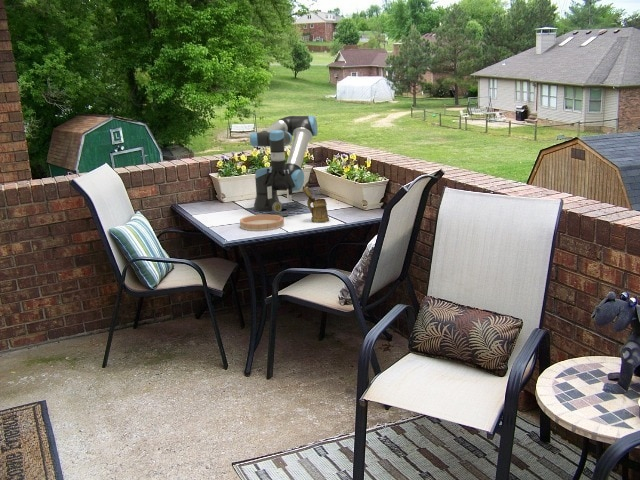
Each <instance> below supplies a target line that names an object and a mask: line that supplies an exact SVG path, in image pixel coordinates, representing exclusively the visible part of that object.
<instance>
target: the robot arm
mask: <svg viewBox="0 0 640 480" xmlns="http://www.w3.org/2000/svg"><path fill="white" fill-rule="evenodd" d="M318 132H319V130H318V122H317V119H316V117H315V116H314V115H289V116H284V117H282V118H279V119H277V120H275V121H274V122H273V123H272V125H270V126H268V127H266V128H265V129H263V130H261V131H258V132H257V131H255V132H251V133H250V136H249V142H250V143H249V144H250V145H251V146H252V147H256V148H257V147H269V148H270V149H269V150H270V151H269V152H270V166H265V167H261V168H258V169H256V170H255V173H254V176H255V177H254V180H255V181H254V182H255V193H256V196H255V200H254V204H253V210H254V211H259V212H273V210H272V205H273V203H274V202H276V201H279V202H280V200H279V196H278V191H286V198H287V199H286V200H287V202H290V201H293V200H292V197H293V192H295V191H297V192H298V191H300V190H301V189H303V186H304V183H305V180H304V179H305V172H304V171H303V169H302V166H303V162H304V158H305V155H306V151H307V147H308V146H309V145H308V144H309V142H311V140H312V139H313V137H317V135H318ZM291 143H292V144H291ZM290 144H291V147H290V149H289V152H288V153H289V154H288V156H287V161H286V160H285V159H286V156H285V155H286V153H285V149H286V148H285V147H288V146H289V145H290ZM275 197H276V198H275ZM275 199H278V200H275ZM276 209H277V208H276Z"/></svg>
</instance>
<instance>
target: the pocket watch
mask: <svg viewBox="0 0 640 480" xmlns="http://www.w3.org/2000/svg"><path fill="white" fill-rule="evenodd" d="M275 198H276V197H275ZM278 199H279V198H278ZM278 199H275V200H278ZM276 208H277V209H276ZM272 210H273V211H272V212H273V213H274V214H275V215H279V216H282V217H283V218H284V217H287V216H289V213H287V212H282V210H283V204H282V202H281V201H280V200H279V201H276V202H274V203H273V205H272Z"/></svg>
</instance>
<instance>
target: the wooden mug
mask: <svg viewBox="0 0 640 480" xmlns="http://www.w3.org/2000/svg"><path fill="white" fill-rule="evenodd" d="M302 192H303V193H304V195H305V197H307V198H308V199H307V202H306V204H307V208H308V209H309V211H310V213H311V222H312V223H316V224H319V223H327V222H329V221H330V217H329V214H328V208H327V202H326V201H327V200H326V199H325V198H316V197H313V195H312V193H311V191H310V190H309V189H308V188H307V187H306V186H304V185H303V186H302ZM311 204H312V205H311Z"/></svg>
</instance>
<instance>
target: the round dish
mask: <svg viewBox="0 0 640 480" xmlns="http://www.w3.org/2000/svg"><path fill="white" fill-rule="evenodd" d="M284 220H285V219H284V217H282V216H279V215H276V214H254V215H248V216H244V217H242V218H240V219H239V225H240V227H239V228H240V229H242V230H245V231H253V232H257V231H258V232H259V231H260V232H262V231H265V232H266V231H273V230H276V229H280V228H282V227H283V226H284V223H285V221H284Z"/></svg>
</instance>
